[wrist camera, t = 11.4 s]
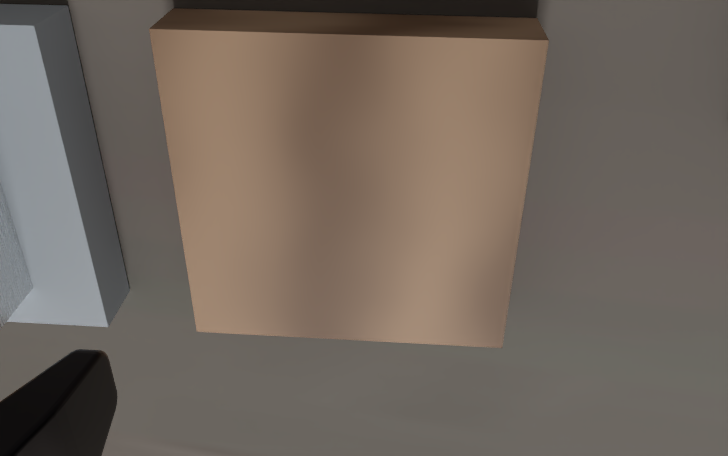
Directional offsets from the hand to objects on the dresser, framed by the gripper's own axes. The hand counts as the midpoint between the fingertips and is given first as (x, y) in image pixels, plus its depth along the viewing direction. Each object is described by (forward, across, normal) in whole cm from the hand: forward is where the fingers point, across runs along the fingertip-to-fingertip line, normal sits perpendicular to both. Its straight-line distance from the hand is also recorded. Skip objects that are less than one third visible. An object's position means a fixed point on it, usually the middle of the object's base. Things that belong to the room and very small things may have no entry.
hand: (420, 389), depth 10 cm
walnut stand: (+12, +2, +3) cm, 13 cm away
